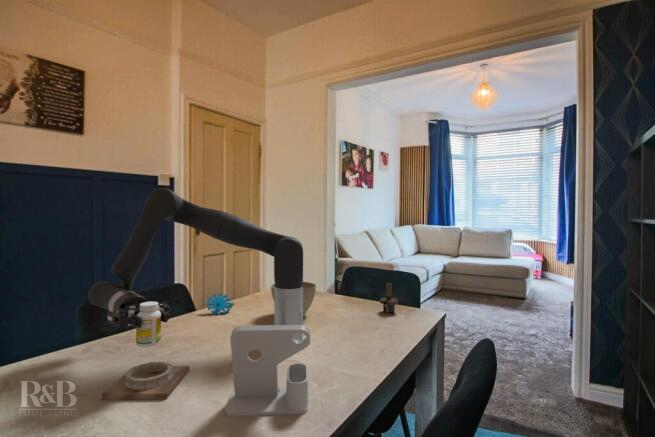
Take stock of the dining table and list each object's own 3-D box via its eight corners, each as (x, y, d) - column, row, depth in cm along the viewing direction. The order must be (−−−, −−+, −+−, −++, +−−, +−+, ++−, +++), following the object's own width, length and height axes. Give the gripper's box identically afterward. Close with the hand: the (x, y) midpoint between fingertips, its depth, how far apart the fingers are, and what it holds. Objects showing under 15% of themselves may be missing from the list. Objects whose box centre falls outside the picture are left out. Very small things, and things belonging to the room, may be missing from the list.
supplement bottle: (141, 349, 80) (141, 308, 80) (132, 343, 84) (132, 303, 84) (165, 343, 85) (165, 303, 84) (155, 337, 88) (155, 299, 88)
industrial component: (388, 308, 153) (388, 281, 153) (401, 312, 148) (402, 283, 147) (373, 312, 147) (373, 283, 147) (386, 316, 142) (386, 286, 142)
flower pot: (324, 313, 145) (324, 284, 145) (297, 324, 130) (297, 292, 130) (289, 306, 155) (290, 279, 155) (261, 316, 140) (261, 286, 139)
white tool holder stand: (308, 389, 82) (309, 312, 82) (309, 414, 72) (310, 326, 72) (233, 391, 81) (233, 313, 81) (223, 417, 71) (224, 328, 71)
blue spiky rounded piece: (205, 312, 139) (208, 291, 146) (204, 320, 143) (206, 298, 150) (234, 314, 143) (235, 293, 150) (231, 321, 147) (233, 300, 154)
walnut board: (189, 370, 92) (189, 358, 91) (166, 398, 78) (166, 384, 78) (134, 371, 91) (134, 358, 91) (101, 399, 77) (101, 385, 77)
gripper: (97, 296, 89) (119, 310, 77) (156, 288, 99) (183, 299, 88) (97, 326, 89) (119, 344, 77) (156, 314, 99) (183, 329, 88)
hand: (153, 320), depth 82 cm, fingers closed on supplement bottle, 5 cm apart
